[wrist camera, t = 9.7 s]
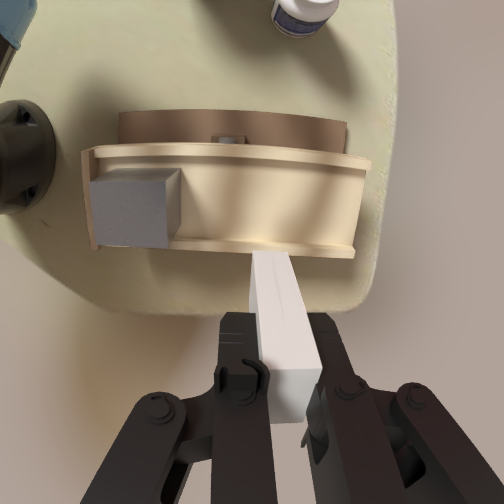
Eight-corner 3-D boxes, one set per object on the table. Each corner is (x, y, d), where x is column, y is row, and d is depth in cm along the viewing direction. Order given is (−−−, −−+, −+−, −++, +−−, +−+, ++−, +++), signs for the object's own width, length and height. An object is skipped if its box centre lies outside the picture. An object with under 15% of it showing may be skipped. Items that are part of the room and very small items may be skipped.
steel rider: (119, 221, 26) (96, 244, 21) (115, 168, 23) (88, 182, 19) (181, 223, 26) (168, 248, 21) (180, 167, 24) (165, 181, 19)
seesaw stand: (128, 237, 35) (113, 256, 30) (123, 112, 28) (103, 113, 23) (325, 246, 36) (336, 266, 31) (343, 121, 29) (359, 123, 25)
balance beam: (110, 235, 29) (92, 254, 25) (103, 139, 24) (80, 145, 20) (342, 247, 30) (355, 268, 26) (358, 149, 25) (377, 157, 21)
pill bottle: (325, 37, 25) (356, 11, 16) (276, 41, 25) (289, 13, 17) (314, -4, 23) (340, -40, 14) (266, -1, 23) (275, -40, 14)
